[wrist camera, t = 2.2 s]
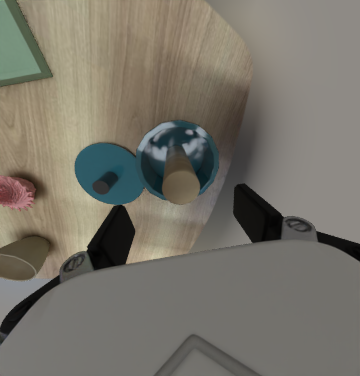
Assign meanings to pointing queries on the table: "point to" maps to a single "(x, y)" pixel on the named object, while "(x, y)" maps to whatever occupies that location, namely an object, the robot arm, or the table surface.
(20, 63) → the tray
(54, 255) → the table surface
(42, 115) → the table surface
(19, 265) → the bowl
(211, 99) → the table surface
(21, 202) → the flower
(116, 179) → the pot lid
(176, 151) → the stick
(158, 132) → the pot
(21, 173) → the table surface
